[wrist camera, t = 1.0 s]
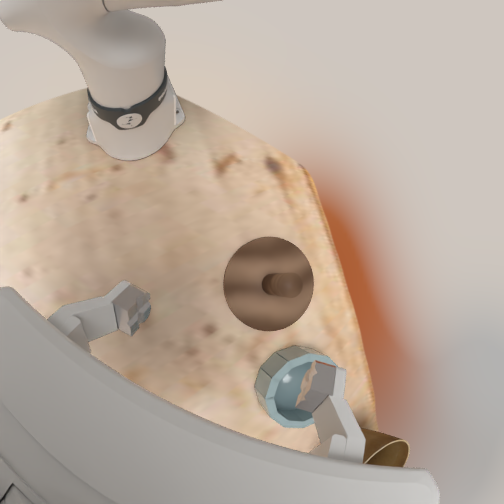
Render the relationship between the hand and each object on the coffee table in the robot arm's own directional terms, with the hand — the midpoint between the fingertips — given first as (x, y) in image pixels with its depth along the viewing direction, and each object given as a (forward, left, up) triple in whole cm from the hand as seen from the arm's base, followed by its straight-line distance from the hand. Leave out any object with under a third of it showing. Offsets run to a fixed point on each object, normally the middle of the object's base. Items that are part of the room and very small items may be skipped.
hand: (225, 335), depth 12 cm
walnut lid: (+2, +14, -33) cm, 36 cm away
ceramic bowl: (+21, +14, -33) cm, 41 cm away
